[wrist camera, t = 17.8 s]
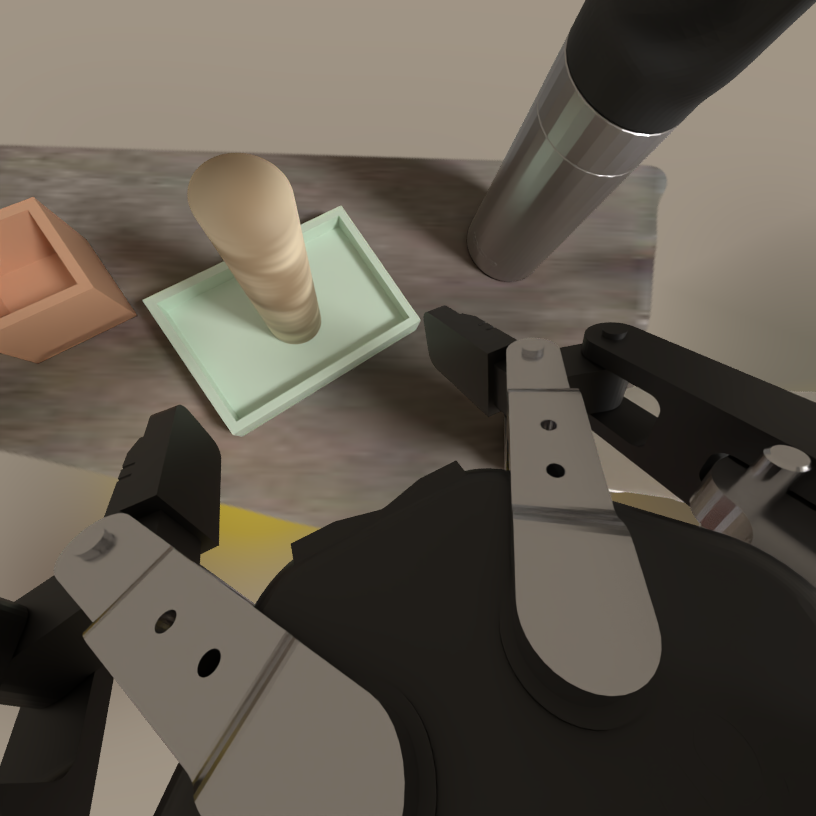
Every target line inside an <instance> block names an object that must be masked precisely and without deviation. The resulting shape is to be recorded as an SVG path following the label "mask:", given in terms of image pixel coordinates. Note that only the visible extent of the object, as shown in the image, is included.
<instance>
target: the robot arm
mask: <svg viewBox="0 0 816 816" xmlns="http://www.w3.org/2000/svg"><path fill="white" fill-rule="evenodd" d="M815 2H816V0H585V2H584V4H583V6H582V8H581V10H580V12H579V14H578V16H577V18H576V20H575V22H574V24H573V26H572V28H571V30H570V32H569V34H568V36H567V38H566V40H565V42H564V44H563V46H562V48H561V50H560V51H559V53H558V55H557V57H556V60H555V61H554V63H553V65H552V67H551V69H550V71H549V73H548V75H547V77H546V79H545V81H544V83H543V85H542V87H541V89H540V91H539V93H538V95H537V97H536V98H535V100H534V102H533V104H532V106H531V108H530V110H529V112H528V114H527V116H526V118H525V120H524V122H523V124H522V126H521V127H520V129H519V132H518V133H517V135H516V137H515V139H514V141H513V143H512V145H511V147H510V149H509V151H508V153H507V155H506V157H505V159H504V160H503V162H502V164H501V166H500V168H499V170H498V172H497V174H496V176H495V178H494V180H493V182H492V184H491V186H490V188H489V189H488V191H487V193H486V195H485V197H484V199H483V201H482V203H481V205H480V207H479V209H478V211H477V213H476V214H475V216H474V218H473V220H472V222H471V224H470V227H469V229H468V233H467V246H468V250H469V253H470V256H471V257H472V259H473V261H474V263H475V264H476V265H477V266H478V267H479V268H480V269H481V270H482V271H483V272H484V273H486V274H487V275H489V276H491V277H492V278H494V279H497V280H501V281H507V282H512V281H519V280H521V279H524V278H526V277H527V276H529V275H530V274H531V273H532V272H533V271H534V270H535V269H536V268H537V267H538V266H539V265H540V264H541V263H542V262H543V261H544V260H545V259H546V258H547V257H548V256H549V255H550V254H551V253H552V252H553V251H554V250H555V249H556V248H557V247H558V246H559V245H560V244H561V243H562V242H563V241H564V240H565V239H566V238H567V237H568V236H569V235H570V234H571V233H572V232H573V231H574V230H575V229H576V228H577V227H578V226H579V225H580V224H581V223H582V222H583V221H584V220H585V219H586V218H587V217H588V216H589V215H590V214H591V213H592V212H593V211H594V210H595V209H596V208H597V207H598V206H599V205H600V204H601V203H602V202H603V201H604V200H605V199H606V198H607V197H608V196H609V195H610V194H611V193H612V192H613V191H614V190H615V189H616V188H617V187H618V186H619V185H620V184H621V183H622V182H623V181H624V180H625V179H626V178H627V177H628V176H629V175H630V174H631V173H632V172H633V171H634V170H635V169H636V168H637V167H638V166H639V164H640V163H641V162H642V161H643V160H644V159H645V158H646V157H647V156H648V155H649V154H650V153H651V152H652V151H653V150H654V149H655V148H656V147H657V146H658V145H659V144H660V143H661V142H662V141H663V140H664V139H665V138H666V137H667V136H668V135H669V134H670V133H671V132H672V131H673V130H674V129H675V128H676V127H677V126H678V125H679V124H680V123H681V122H682V121H683V120H684V119H685V118H686V117H687V116H688V115H689V114H690V113H691V112H692V111H693V110H694V109H695V108H696V107H697V106H698V105H699V104H700V103H702V102H703V101H704V100H705V99H707V98H708V97H709V96H711V95H712V94H714V93H715V92H717V91H718V90H719V89H721V88H722V87H724V86H725V85H726V84H728V83H729V82H730V81H731V80H733V79H734V78H735V77H736V76H737V75H738V74H739V73H741V72H742V71H743V70H744V69H745V68H746V67H747V66H748V65H749V64H751V62H753V61H754V60H755V59H756V58H757V57H758V56H759V55H760V54H761V53H762V52H763V51H764V50H765V49H766V48H767V47H768V46H769V45H770V44H772V43H773V42H774V41H775V40H776V39H777V38H778V37H779V36H780V35H781V34H782V33H783V32H784V31H785V30H786V29H787V28H788V27H789V26H791V25H792V24H793V23H794V22H795V21H796V20H797V19H798V18H799V17H800V16H801V15H802V14H803V13H805V12H806V11H807V10H808V9H809V8H810V7H811V6H812V5H813V4H814V3H815ZM424 325H425V332H426V338H427V345H428V351H429V356H430V359H431V361H432V363H433V365H434V366H435V367H436V368H437V369H438V370H439V371H440V372H441V373H442V374H443V375H444V376H445V377H446V378H447V379H448V380H449V381H450V382H452V383H453V384H454V385H455V386H456V387H457V388H458V389H459V390H460V391H461V392H462V393H463V394H464V395H465V396H467V397H468V398H469V399H470V400H471V401H472V402H473V403H474V404H475V405H476V406H477V407H478V408H479V409H480V410H482V411H483V412H484V413H485V414H486V415H487V416H488V417H489V416H491V415H493V414H496V413H498V412H500V411H502V412H503V413H504V470H502V469H491V468H486V469H473V470H467V471H464V470H463V468H462V467H461V466H460V465H459V463H458V462H457V461H454V462H452V463H450V464H448V465H446V466H444V467H442V468H440V469H438V470H436V471H434V472H432V473H430V474H428V475H426V476H424V477H422V478H420V479H419V480H418V481H416V482H415V483H414V484H413V485H412V486H410V487H409V488H408V489H407V490H405V491H404V492H403V493H402V494H401V495H399V496H398V497H397V498H396V499H395V500H393V501H392V502H391V503H390V504H389V505H387V506H386V507H385V508H383V509H381V510H378V511H374V512H370V513H366V514H362V515H358V516H354V517H350V518H346V519H343V520H339V521H335V522H333V523H331V524H329V525H327V526H325V527H323V528H321V529H319V530H317V531H315V532H313V533H311V534H309V535H307V536H305V537H303V538H301V539H299V540H297V541H295V542H293V543H291V548H292V554H293V560H292V561H291V562H289V563H288V564H287V565H286V566H285V567H284V568H283V569H282V570H281V571H280V572H279V573H278V574H277V575H276V576H275V578H274V579H273V580H272V581H271V582H270V583H269V585H268V586H267V587H266V589H265V590H264V592H263V593H262V594H261V596H260V597H259V599H258V601H257V602H256V604H254V603H253V602H251V601H250V600H249V599H247V598H246V597H244V596H243V595H242V594H240V593H239V592H238V591H236V590H235V589H233V588H232V587H231V586H229V585H228V584H227V583H225V582H224V581H222V580H221V579H220V578H218V577H217V576H216V575H214V574H213V573H211V572H210V571H209V570H207V569H206V568H204V567H203V566H201V565H200V554H202V553H204V552H206V551H208V550H210V549H212V548H214V547H216V546H219V519H220V518H219V516H220V482H221V454H220V451H219V448H218V446H217V444H216V443H215V441H214V440H213V439H212V438H211V436H210V435H209V434H208V433H207V432H206V430H205V429H204V428H203V427H202V426H201V425H200V423H199V422H198V421H197V420H196V419H195V418H194V416H193V415H192V414H191V413H190V412H189V411H188V410H187V409H186V408H185V407H184V406H182V405H177V406H175V407H172V408H169V409H167V410H164V411H161V412H159V413H156V414H153V415H151V416H150V418H149V421H148V425H147V428H146V431H145V434H144V437H141V438H139V440H138V441H137V442H136V443H135V445H134V446H133V447H132V448H131V449H130V451H129V452H128V453H127V456H126V458H125V461H124V464H123V469H122V470H121V472H120V475H119V478H118V479H119V481H118V482H117V483H116V486H115V489H114V491H113V494H112V497H111V500H110V502H109V505H108V508H107V511H106V513H105V516H104V518H102V519H100V520H98V521H97V522H95V523H93V524H92V525H90V526H89V527H87V528H86V529H85V530H83V531H82V532H81V533H79V534H78V535H77V536H76V537H75V538H74V539H73V540H72V541H71V542H70V543H69V544H68V545H67V547H66V548H65V549H64V550H63V551H62V553H61V554H60V556H59V558H58V560H57V561H56V564H55V567H54V576H52V577H51V578H50V579H48V580H46V581H45V582H43V583H42V584H40V585H39V586H37V587H36V588H34V589H33V590H31V591H30V592H29V593H27V594H25V595H24V596H23V597H21V598H19V599H18V600H16V601H15V602H12V601H10V600H7V599H4V598H1V597H0V704H3V705H9V706H17V707H20V710H19V713H18V716H17V719H16V721H15V724H14V727H13V730H12V733H11V736H10V739H9V742H8V745H7V748H6V751H5V753H4V757H3V759H2V762H1V765H0V816H89V814H90V809H91V803H92V797H93V792H94V786H95V780H96V775H97V769H98V764H99V757H100V752H101V747H102V741H103V735H104V730H105V724H106V718H107V712H108V707H109V701H110V696H111V690H112V684H113V679H115V680H116V682H117V683H118V684H119V685H120V687H121V688H122V689H123V690H124V692H125V693H126V694H127V696H128V697H129V698H130V700H131V701H132V702H133V703H134V705H135V706H136V707H137V708H138V710H139V711H140V712H141V714H142V715H143V716H144V718H145V719H146V720H147V721H148V723H149V724H150V725H151V727H152V728H153V729H154V731H155V732H156V733H157V734H158V736H159V737H160V738H161V740H162V741H163V742H164V743H165V745H166V746H167V747H168V749H169V750H170V751H171V752H172V754H173V755H174V756H175V758H176V759H177V760H178V761H179V763H178V765H177V767H176V769H175V771H174V773H173V775H172V778H171V780H170V782H169V784H168V786H167V788H166V790H165V792H164V795H163V796H162V798H161V801H160V803H159V805H158V807H157V809H156V811H155V813H154V815H153V816H816V402H813V401H811V400H808V399H806V398H804V397H801V396H799V395H796V394H794V393H792V392H789V391H787V390H784V389H782V388H780V387H777V386H775V385H772V384H770V383H767V382H765V381H763V380H760V379H758V378H755V377H753V376H751V375H748V374H746V373H744V372H741V371H739V370H737V369H734V368H732V367H729V366H727V365H724V364H722V363H720V362H717V361H715V360H712V359H710V358H708V357H705V356H703V355H701V354H698V353H696V352H693V351H691V350H689V349H686V348H684V347H681V346H679V345H677V344H674V343H672V342H669V341H667V340H665V339H662V338H660V337H657V336H655V335H652V334H650V333H648V332H645V331H643V330H641V329H638V328H636V327H633V326H631V325H627V324H623V323H612V322H609V323H600V324H596V325H593V326H591V327H589V328H588V329H587V330H586V331H585V334H584V339H583V343H582V344H578V345H573V346H568V347H562V348H559V347H558V345H557V344H555V343H554V342H552V341H550V340H547V339H542V338H524V339H520V340H516V339H514V338H512V337H511V336H509V335H507V334H506V333H504V332H502V331H500V330H499V329H497V328H493V326H492V325H490V324H488V323H485V321H483V320H481V319H479V318H478V317H476V316H472V315H467V314H459V313H457V312H456V311H454V310H452V309H451V308H449V307H447V306H445V305H444V306H441V307H439V308H436V309H433V310H431V311H428V312H425V314H424ZM628 383H631V384H633V385H635V386H636V387H638V388H640V389H642V390H643V391H645V392H647V393H649V394H650V395H652V396H653V397H654V398H655V399H656V400H657V402H658V404H659V406H660V413H659V416H658V417H656V416H655V415H653V414H651V413H650V412H648V411H647V410H645V409H643V408H642V407H640V406H638V405H637V404H635V403H634V402H632V401H630V400H629V399H627V398H625V397H624V394H625V391H626V388H627V385H628ZM592 431H593V432H594V433H596V434H597V435H598V436H600V437H601V438H602V439H603V440H605V441H606V442H607V443H609V444H610V445H611V446H612V447H614V448H615V449H616V450H618V451H619V452H620V453H621V454H623V455H624V456H625V457H627V458H628V459H629V460H630V461H632V462H633V463H634V464H636V465H637V466H638V467H639V468H641V469H642V470H643V471H645V472H646V473H647V474H648V475H650V476H651V477H652V478H654V479H655V480H656V481H657V482H659V483H660V484H661V485H663V486H664V487H665V488H666V489H668V490H669V491H670V492H672V493H673V494H674V495H675V496H677V497H678V498H679V499H681V500H682V501H683V502H684V503H686V504H687V505H688V506H690V507H691V511H692V513H693V515H694V516H695V518H696V519H697V520H698V522H699V523H700V525H699V526H696V525H692V524H689V523H685V522H682V521H679V520H675V519H672V518H668V517H665V516H662V515H658V514H655V513H652V512H648V511H645V510H641V509H638V508H634V507H631V506H628V505H625V504H621V503H618V502H614V501H612V500H611V496H610V493H609V489H608V486H607V482H606V479H605V475H604V472H603V468H602V465H601V461H600V458H599V454H598V451H597V447H596V444H595V440H594V437H593V433H592Z"/></svg>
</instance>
